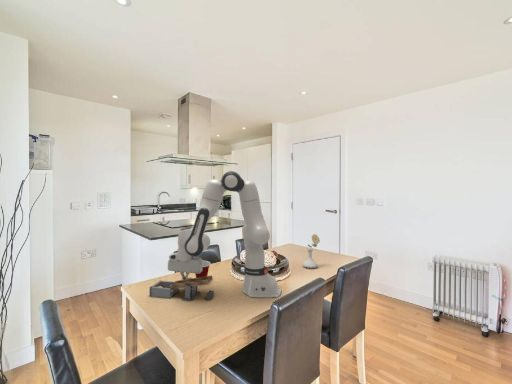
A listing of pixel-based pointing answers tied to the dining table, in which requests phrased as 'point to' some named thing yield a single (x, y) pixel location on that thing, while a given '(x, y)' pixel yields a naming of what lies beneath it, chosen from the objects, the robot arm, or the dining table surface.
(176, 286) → the lever
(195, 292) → the fulcrum
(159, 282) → the grey open box
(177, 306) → the dining table surface
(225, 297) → the dining table surface
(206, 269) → the plastic cup
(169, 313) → the dining table surface
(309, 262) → the flower in vase
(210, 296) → the rest block
